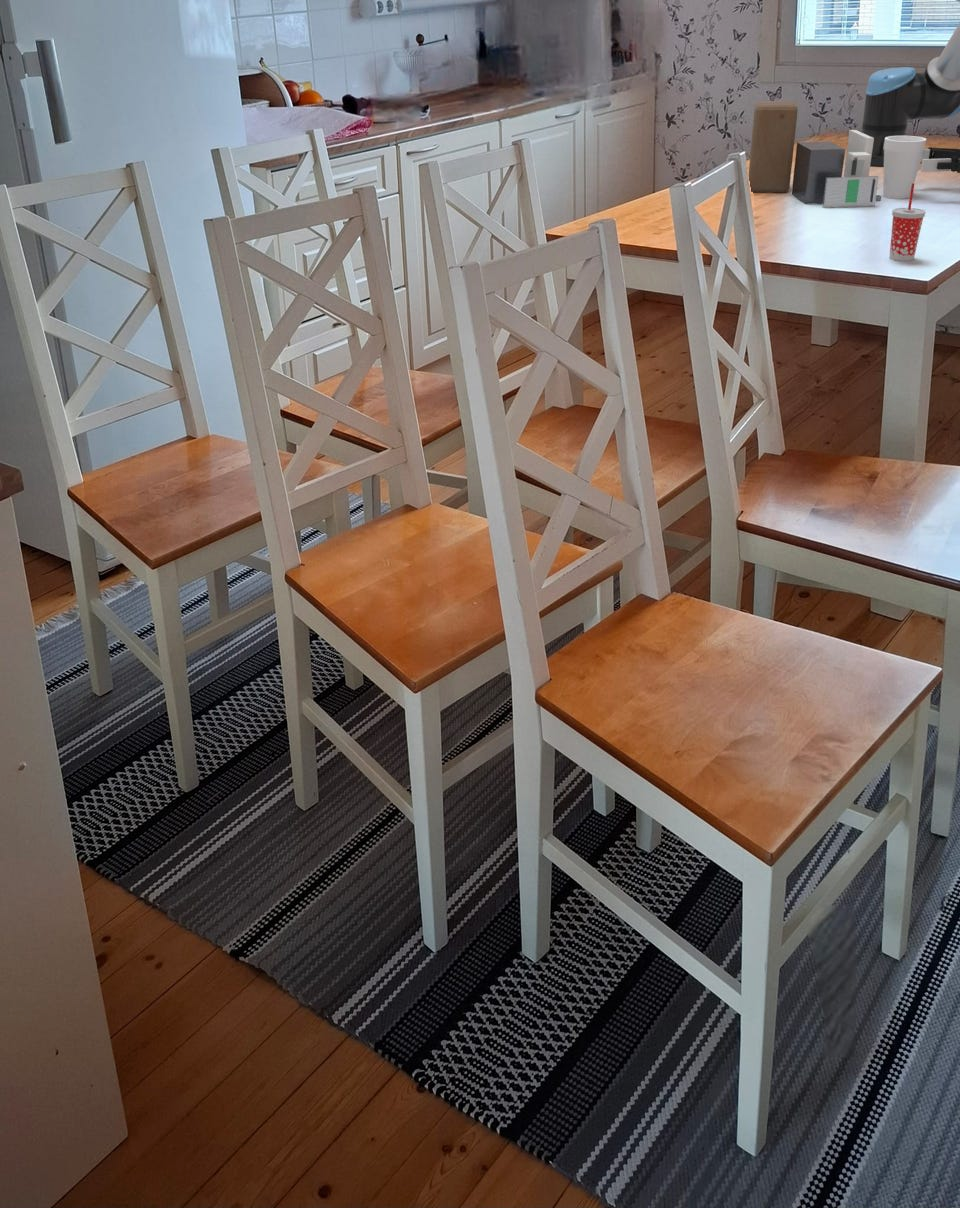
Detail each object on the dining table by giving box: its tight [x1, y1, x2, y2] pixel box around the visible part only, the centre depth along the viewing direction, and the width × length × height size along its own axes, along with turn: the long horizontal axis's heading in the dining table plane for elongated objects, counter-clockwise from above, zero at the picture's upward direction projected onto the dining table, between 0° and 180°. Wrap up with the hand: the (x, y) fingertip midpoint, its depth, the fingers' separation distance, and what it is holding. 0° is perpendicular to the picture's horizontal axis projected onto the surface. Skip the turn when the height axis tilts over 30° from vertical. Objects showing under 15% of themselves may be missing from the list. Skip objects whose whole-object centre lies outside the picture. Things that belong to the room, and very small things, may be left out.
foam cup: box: [882, 135, 927, 200], centre depth 279 cm, size 10×9×13 cm
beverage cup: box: [888, 183, 926, 262], centre depth 226 cm, size 6×6×14 cm
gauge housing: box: [791, 140, 882, 209], centre depth 277 cm, size 18×17×12 cm
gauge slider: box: [843, 129, 874, 177], centre depth 276 cm, size 6×17×13 cm, turn 3°
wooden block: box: [748, 100, 799, 194], centre depth 288 cm, size 10×10×20 cm
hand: (911, 160), depth 278 cm, fingers open, 13 cm apart
